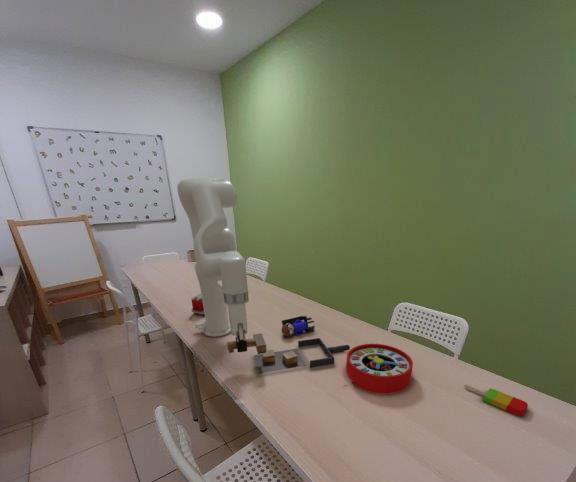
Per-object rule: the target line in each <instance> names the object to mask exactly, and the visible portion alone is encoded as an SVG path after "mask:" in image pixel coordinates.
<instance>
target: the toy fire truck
mask: <svg viewBox="0 0 576 482" xmlns="http://www.w3.org/2000/svg"><path fill="white" fill-rule="evenodd" d="M190 300H191V306H192V308H191V313H195V314H197V315H205V314H204V307H203V301H202V295H201V293H199V294H197V295H195V296H193V297H190Z"/></svg>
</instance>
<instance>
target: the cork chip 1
mask: <svg viewBox="0 0 576 482" xmlns="http://www.w3.org/2000/svg"><path fill="white" fill-rule="evenodd" d="M266 350H267V349H266ZM274 352H275V350H274V349H269V350H267V351H266V353H262V354H263V362H264V363H266V362H275V354H274Z"/></svg>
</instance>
